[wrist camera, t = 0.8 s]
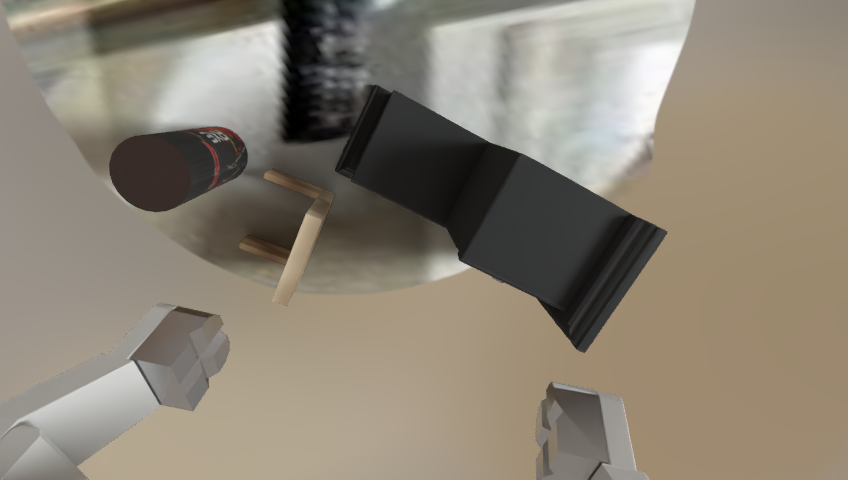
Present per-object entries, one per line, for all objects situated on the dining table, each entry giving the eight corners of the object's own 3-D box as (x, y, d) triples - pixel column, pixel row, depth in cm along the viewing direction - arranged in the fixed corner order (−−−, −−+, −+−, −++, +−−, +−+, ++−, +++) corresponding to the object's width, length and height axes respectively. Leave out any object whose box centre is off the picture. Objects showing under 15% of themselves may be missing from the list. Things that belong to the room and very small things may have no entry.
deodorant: (252, 136, 47) (197, 148, 33) (241, 187, 49) (184, 220, 34) (196, 119, 46) (114, 124, 32) (187, 172, 48) (104, 199, 33)
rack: (246, 240, 51) (207, 278, 39) (272, 168, 48) (238, 187, 37) (307, 262, 52) (287, 306, 41) (335, 194, 50) (322, 219, 39)
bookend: (333, 170, 49) (295, 223, 27) (375, 82, 47) (370, 60, 25) (504, 254, 54) (590, 357, 32) (549, 178, 52) (676, 233, 30)
